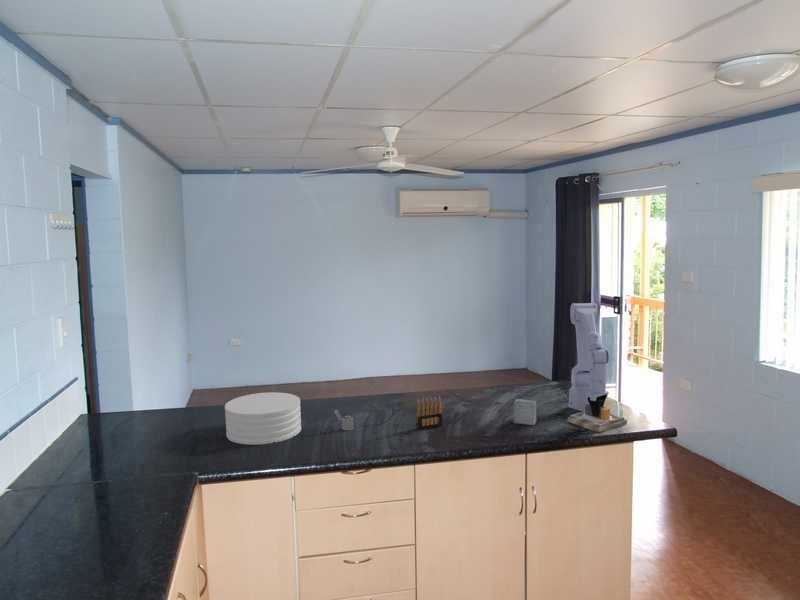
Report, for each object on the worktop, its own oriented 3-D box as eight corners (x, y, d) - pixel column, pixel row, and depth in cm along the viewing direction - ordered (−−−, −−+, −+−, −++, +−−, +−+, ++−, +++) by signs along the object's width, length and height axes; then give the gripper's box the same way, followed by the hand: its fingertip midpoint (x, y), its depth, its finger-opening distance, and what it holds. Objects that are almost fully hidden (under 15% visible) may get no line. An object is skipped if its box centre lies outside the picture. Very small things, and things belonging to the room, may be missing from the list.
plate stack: (222, 426, 231) (220, 398, 230) (292, 415, 242) (290, 388, 241) (231, 450, 206) (229, 418, 204) (309, 437, 217) (308, 407, 215)
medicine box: (536, 422, 227) (536, 400, 226) (533, 425, 223) (534, 403, 222) (516, 419, 231) (516, 398, 230) (513, 423, 227) (513, 401, 226)
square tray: (567, 421, 227) (567, 414, 227) (594, 413, 236) (594, 407, 235) (599, 432, 215) (599, 425, 214) (626, 423, 223) (627, 417, 223)
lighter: (353, 428, 225) (352, 408, 224) (353, 429, 223) (352, 409, 222) (334, 429, 224) (333, 409, 223) (334, 431, 222) (334, 410, 221)
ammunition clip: (440, 424, 227) (440, 394, 226) (442, 425, 225) (442, 395, 224) (415, 428, 223) (415, 398, 222) (417, 430, 221) (417, 399, 220)
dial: (599, 425, 217) (599, 412, 217) (576, 417, 227) (576, 405, 226) (618, 419, 223) (618, 407, 223) (594, 412, 233) (594, 400, 232)
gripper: (604, 385, 215) (603, 421, 216) (613, 376, 227) (612, 410, 229) (584, 383, 219) (584, 418, 220) (594, 374, 231) (593, 407, 232)
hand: (597, 414), depth 225 cm, fingers closed on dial, 5 cm apart
